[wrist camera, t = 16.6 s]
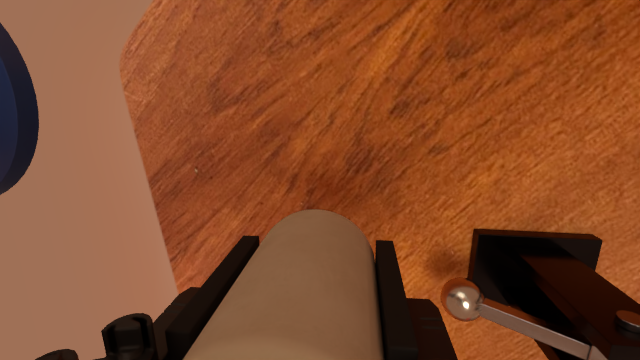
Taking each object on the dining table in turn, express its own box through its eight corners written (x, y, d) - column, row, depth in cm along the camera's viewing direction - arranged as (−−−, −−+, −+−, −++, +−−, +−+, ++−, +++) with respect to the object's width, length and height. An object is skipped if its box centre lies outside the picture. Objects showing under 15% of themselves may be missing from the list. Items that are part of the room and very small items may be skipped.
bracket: (464, 295, 31) (535, 427, 19) (474, 228, 29) (558, 324, 17) (576, 303, 30) (730, 448, 18) (593, 234, 28) (776, 341, 16)
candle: (239, 244, 16) (53, 476, 6) (331, 185, 14) (276, 360, 5) (305, 327, 17) (230, 649, 7) (397, 278, 15) (463, 588, 6)
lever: (447, 299, 27) (431, 317, 25) (451, 265, 27) (436, 281, 24) (644, 379, 20) (647, 417, 17) (658, 335, 19) (664, 368, 16)
